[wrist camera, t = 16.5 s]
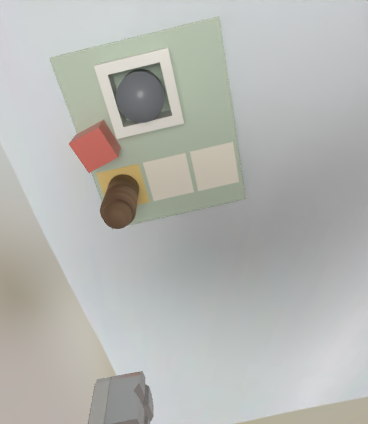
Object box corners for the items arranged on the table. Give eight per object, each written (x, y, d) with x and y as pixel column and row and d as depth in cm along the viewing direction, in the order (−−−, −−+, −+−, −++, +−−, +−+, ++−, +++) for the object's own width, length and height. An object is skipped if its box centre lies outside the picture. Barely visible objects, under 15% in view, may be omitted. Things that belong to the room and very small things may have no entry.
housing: (167, 46, 34) (167, 48, 31) (182, 116, 37) (184, 123, 35) (98, 63, 34) (93, 66, 32) (119, 131, 38) (116, 139, 35)
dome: (157, 64, 34) (157, 68, 31) (167, 108, 36) (169, 116, 33) (114, 74, 34) (109, 79, 31) (127, 118, 36) (124, 127, 33)
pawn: (135, 171, 40) (129, 201, 33) (142, 199, 41) (138, 233, 34) (104, 177, 40) (92, 207, 33) (112, 204, 41) (102, 239, 34)
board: (217, 16, 34) (219, 16, 33) (243, 195, 43) (245, 199, 42) (52, 57, 35) (49, 58, 34) (113, 225, 44) (111, 229, 43)
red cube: (103, 119, 37) (98, 127, 34) (121, 147, 38) (117, 157, 35) (76, 134, 37) (68, 143, 34) (94, 161, 39) (89, 172, 36)
